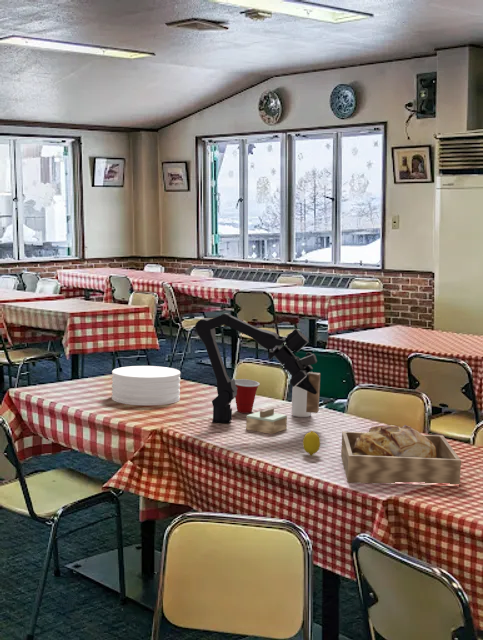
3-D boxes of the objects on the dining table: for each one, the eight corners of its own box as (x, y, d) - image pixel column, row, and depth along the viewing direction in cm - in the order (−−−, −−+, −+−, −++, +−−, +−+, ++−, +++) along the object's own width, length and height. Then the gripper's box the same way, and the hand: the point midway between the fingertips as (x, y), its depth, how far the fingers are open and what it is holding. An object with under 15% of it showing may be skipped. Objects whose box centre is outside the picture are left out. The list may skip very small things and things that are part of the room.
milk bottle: (309, 418, 354) (311, 366, 352) (289, 416, 356) (291, 365, 354) (312, 414, 362) (314, 363, 360) (292, 412, 363) (294, 362, 361)
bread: (345, 462, 298) (343, 416, 297) (430, 458, 297) (429, 413, 296) (352, 485, 274) (350, 436, 272) (445, 481, 273) (443, 432, 271)
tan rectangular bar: (306, 412, 335) (307, 374, 333) (307, 409, 339) (309, 372, 337) (317, 413, 334) (318, 374, 332) (318, 410, 338) (320, 373, 336)
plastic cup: (247, 415, 355) (248, 385, 354) (225, 411, 362) (226, 381, 360) (264, 411, 364) (265, 381, 362) (242, 407, 370) (243, 377, 369)
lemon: (301, 453, 302) (302, 429, 301) (318, 453, 302) (319, 429, 301) (303, 457, 296) (304, 433, 295) (320, 457, 297) (321, 433, 296)
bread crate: (347, 482, 270) (348, 455, 269) (341, 455, 300) (342, 431, 299) (459, 487, 268) (461, 460, 268) (441, 459, 299) (443, 435, 298)
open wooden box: (246, 429, 332) (246, 417, 332) (260, 424, 341) (260, 413, 340) (272, 434, 327) (272, 422, 326) (286, 428, 335) (286, 417, 335)
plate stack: (193, 398, 387) (193, 371, 385) (151, 408, 363) (152, 380, 362) (140, 389, 402) (141, 363, 400) (97, 399, 378) (97, 371, 377)
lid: (246, 417, 332) (246, 409, 332) (260, 413, 340) (261, 405, 340) (272, 422, 326) (273, 414, 326) (286, 417, 335) (287, 409, 334)
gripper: (300, 349, 325) (330, 382, 324) (308, 342, 343) (336, 374, 342) (277, 369, 328) (306, 402, 327) (286, 362, 346) (314, 393, 345)
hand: (317, 392), depth 335 cm, fingers closed on tan rectangular bar, 4 cm apart
